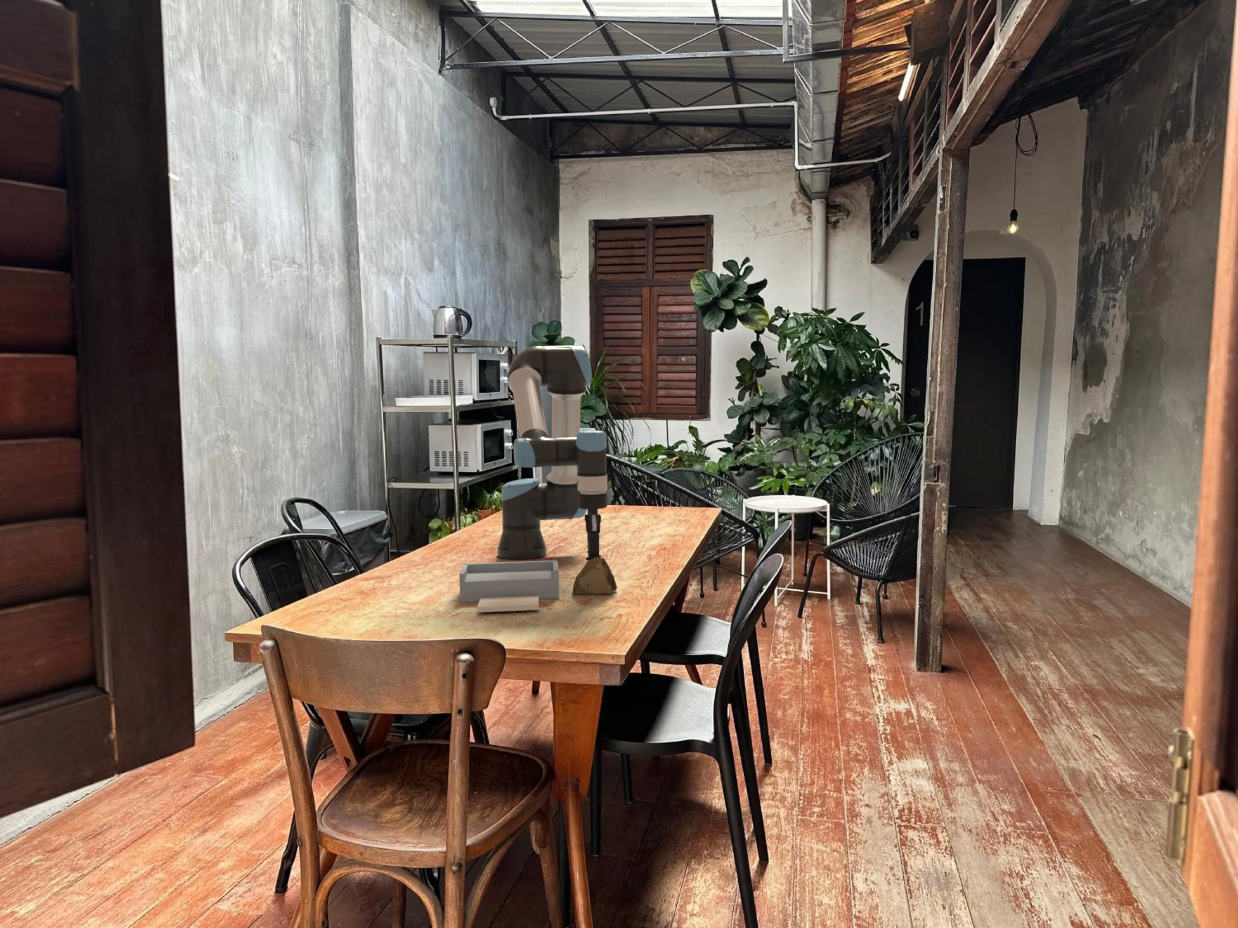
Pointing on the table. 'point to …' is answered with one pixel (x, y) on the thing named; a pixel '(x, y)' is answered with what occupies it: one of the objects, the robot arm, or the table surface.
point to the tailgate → (508, 604)
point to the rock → (595, 578)
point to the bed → (509, 580)
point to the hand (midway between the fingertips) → (594, 584)
